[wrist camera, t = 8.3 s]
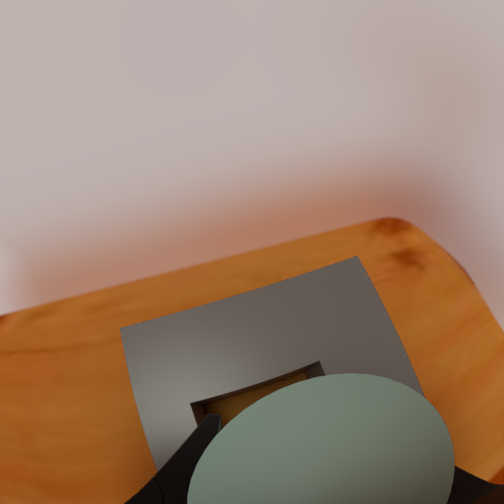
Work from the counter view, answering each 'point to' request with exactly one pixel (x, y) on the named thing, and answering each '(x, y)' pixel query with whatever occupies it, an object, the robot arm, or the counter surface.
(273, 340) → the socket block
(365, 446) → the teal peg
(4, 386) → the counter surface
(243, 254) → the counter surface
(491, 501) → the robot arm
